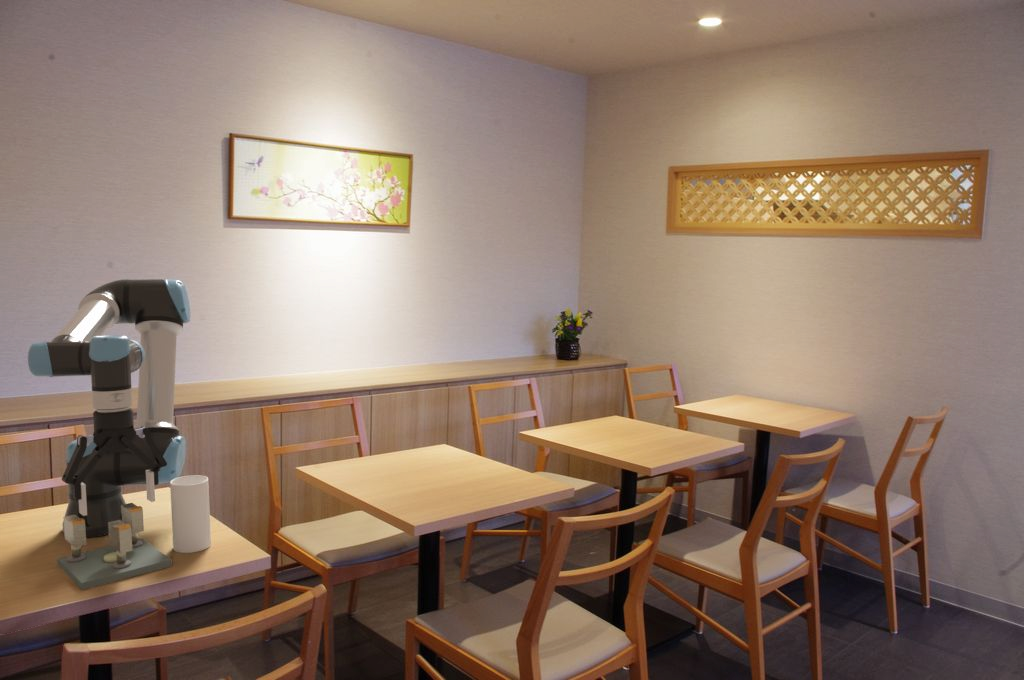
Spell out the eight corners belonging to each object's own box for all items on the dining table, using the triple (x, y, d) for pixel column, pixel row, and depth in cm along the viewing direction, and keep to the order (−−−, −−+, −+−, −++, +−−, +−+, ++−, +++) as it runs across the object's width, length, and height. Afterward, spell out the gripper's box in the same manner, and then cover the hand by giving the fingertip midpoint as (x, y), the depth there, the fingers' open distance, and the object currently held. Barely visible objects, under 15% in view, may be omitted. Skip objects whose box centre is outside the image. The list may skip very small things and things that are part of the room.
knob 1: (110, 558, 173) (108, 520, 172) (122, 555, 175) (119, 517, 174) (121, 568, 168) (119, 528, 167) (133, 564, 170) (131, 525, 169)
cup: (188, 555, 181) (184, 487, 179) (165, 548, 185) (162, 481, 183) (218, 544, 188) (215, 478, 186) (196, 537, 192) (193, 473, 190)
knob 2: (122, 539, 185) (120, 502, 184) (133, 536, 186) (131, 500, 185) (133, 547, 180) (131, 510, 179) (144, 544, 181) (142, 507, 180)
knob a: (65, 552, 176) (63, 514, 175) (77, 549, 178) (75, 512, 177) (75, 561, 171) (72, 522, 170) (87, 558, 173) (84, 520, 172)
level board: (57, 564, 175) (56, 554, 175) (142, 544, 188) (141, 534, 187) (82, 590, 162) (81, 579, 162) (171, 566, 175) (171, 555, 175)
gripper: (51, 419, 156) (57, 524, 158) (179, 403, 173) (183, 498, 175) (41, 414, 161) (47, 515, 164) (166, 399, 179) (170, 491, 181)
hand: (118, 507), depth 169 cm, fingers open, 13 cm apart
